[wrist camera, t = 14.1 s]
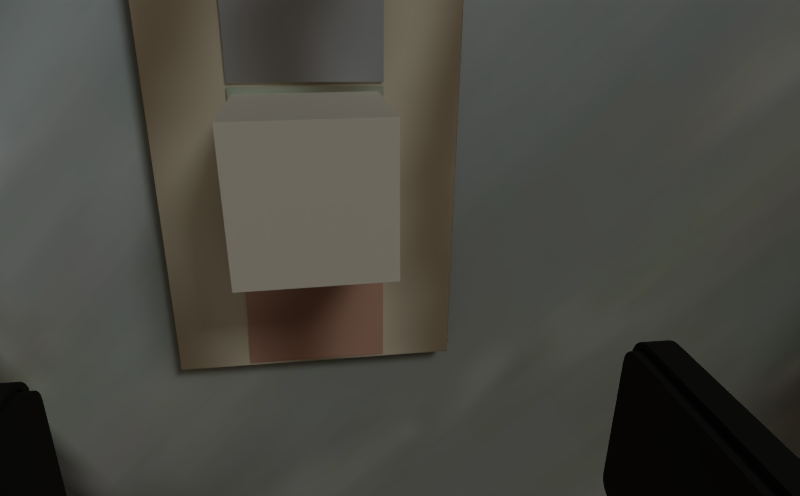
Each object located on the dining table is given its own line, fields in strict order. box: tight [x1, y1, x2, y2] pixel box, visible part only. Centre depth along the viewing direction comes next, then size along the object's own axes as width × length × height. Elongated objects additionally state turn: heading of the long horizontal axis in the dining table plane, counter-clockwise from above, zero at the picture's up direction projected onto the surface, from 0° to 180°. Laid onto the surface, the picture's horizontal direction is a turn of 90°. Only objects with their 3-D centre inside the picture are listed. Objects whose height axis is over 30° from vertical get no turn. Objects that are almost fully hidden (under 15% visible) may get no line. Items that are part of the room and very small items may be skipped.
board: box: [129, 0, 464, 370], centre depth 27 cm, size 13×20×1 cm, turn 179°
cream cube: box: [212, 91, 400, 293], centre depth 24 cm, size 6×6×6 cm
